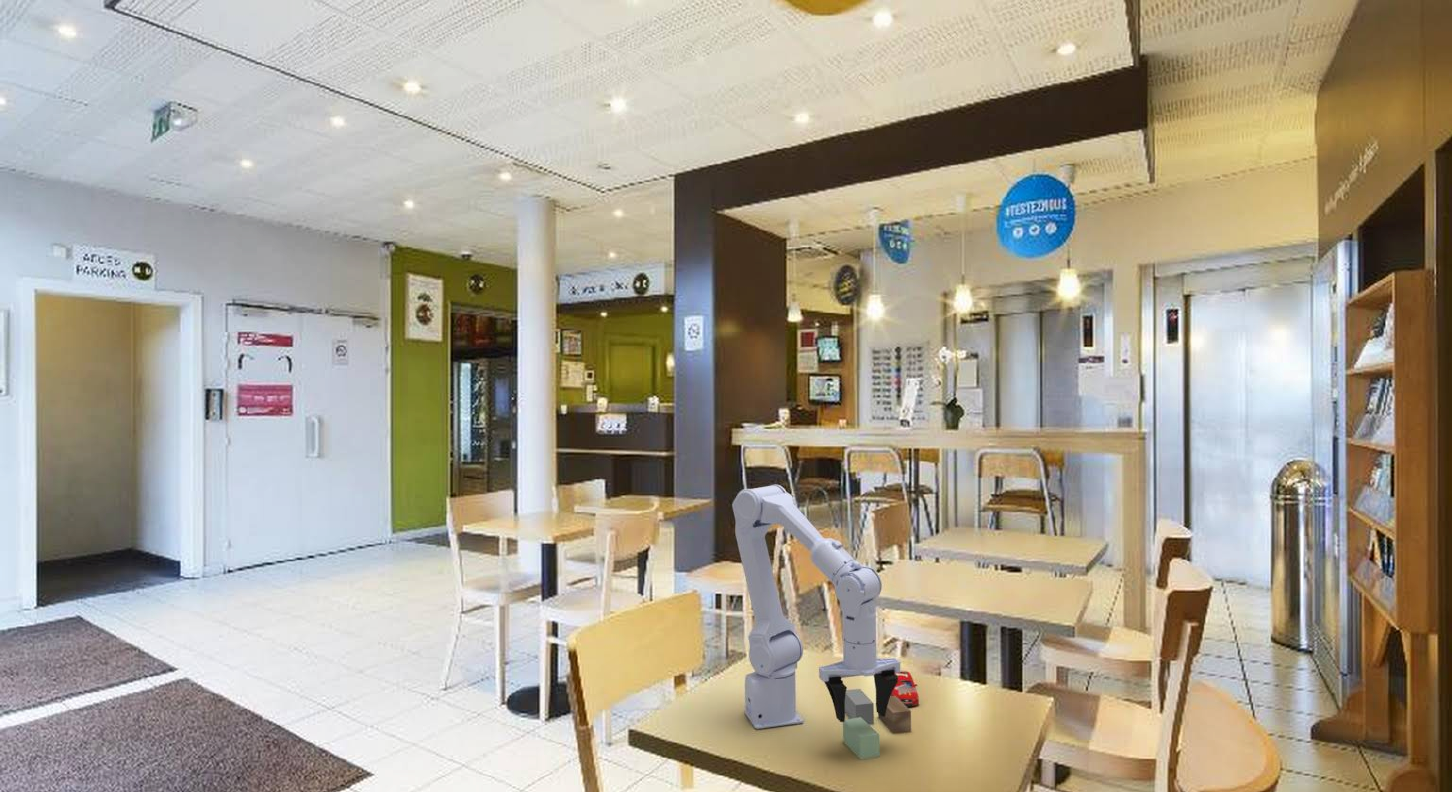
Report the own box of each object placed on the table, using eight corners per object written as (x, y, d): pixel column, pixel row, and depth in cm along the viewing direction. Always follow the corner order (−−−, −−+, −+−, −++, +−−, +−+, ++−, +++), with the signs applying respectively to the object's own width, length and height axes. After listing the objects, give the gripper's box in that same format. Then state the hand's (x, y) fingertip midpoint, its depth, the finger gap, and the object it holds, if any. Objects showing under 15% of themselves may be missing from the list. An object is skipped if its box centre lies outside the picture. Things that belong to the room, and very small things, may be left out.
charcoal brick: (856, 726, 141) (855, 704, 141) (843, 710, 148) (843, 690, 148) (873, 724, 141) (873, 703, 141) (860, 709, 148) (860, 688, 148)
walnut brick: (893, 734, 137) (892, 712, 137) (878, 718, 144) (877, 697, 144) (911, 732, 138) (910, 710, 138) (895, 716, 145) (895, 695, 145)
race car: (920, 710, 148) (920, 690, 148) (892, 709, 148) (891, 689, 148) (913, 684, 161) (913, 665, 161) (887, 683, 161) (887, 664, 161)
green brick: (860, 760, 128) (860, 737, 128) (843, 742, 135) (842, 719, 135) (879, 757, 129) (879, 734, 129) (861, 739, 136) (860, 717, 136)
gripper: (829, 650, 126) (830, 732, 126) (908, 641, 129) (909, 721, 130) (813, 637, 133) (815, 714, 133) (889, 629, 136) (890, 704, 136)
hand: (860, 716), depth 132 cm, fingers open, 7 cm apart
